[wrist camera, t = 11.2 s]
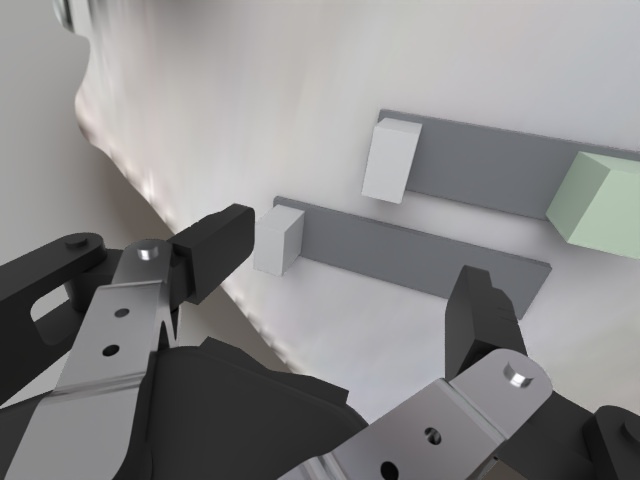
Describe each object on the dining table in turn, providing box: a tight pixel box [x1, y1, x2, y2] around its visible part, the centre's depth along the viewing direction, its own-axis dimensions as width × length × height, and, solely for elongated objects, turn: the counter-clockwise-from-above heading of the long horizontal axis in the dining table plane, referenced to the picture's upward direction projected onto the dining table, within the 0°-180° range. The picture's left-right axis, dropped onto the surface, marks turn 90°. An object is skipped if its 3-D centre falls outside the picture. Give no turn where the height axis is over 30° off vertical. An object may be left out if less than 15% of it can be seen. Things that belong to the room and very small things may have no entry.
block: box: [546, 151, 640, 260], centre depth 21 cm, size 5×5×5 cm
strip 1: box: [254, 196, 552, 320], centre depth 29 cm, size 26×6×6 cm, turn 83°
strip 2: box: [361, 109, 640, 222], centre depth 22 cm, size 26×6×6 cm, turn 83°
